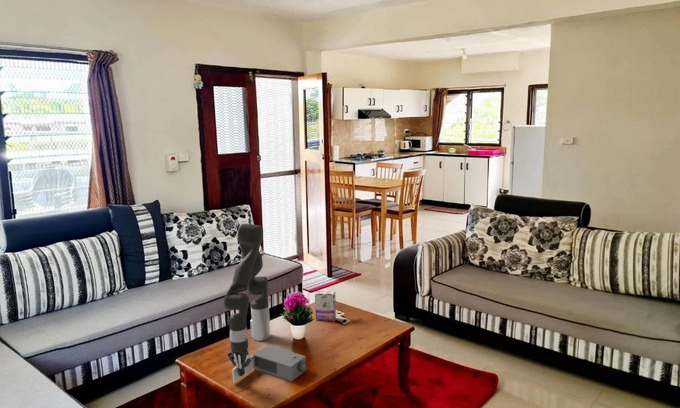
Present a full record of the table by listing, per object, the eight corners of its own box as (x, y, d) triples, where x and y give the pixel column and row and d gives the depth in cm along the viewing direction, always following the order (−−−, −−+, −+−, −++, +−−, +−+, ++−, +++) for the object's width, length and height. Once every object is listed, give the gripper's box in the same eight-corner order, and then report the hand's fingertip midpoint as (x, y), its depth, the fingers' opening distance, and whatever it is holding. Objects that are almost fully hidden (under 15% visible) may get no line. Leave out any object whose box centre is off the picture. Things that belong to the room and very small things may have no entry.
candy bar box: (336, 318, 278) (335, 291, 275) (334, 321, 273) (334, 294, 270) (317, 317, 280) (316, 290, 277) (315, 320, 275) (314, 293, 272)
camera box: (253, 368, 223) (253, 353, 222) (269, 358, 232) (268, 343, 231) (294, 382, 211) (293, 366, 209) (309, 371, 220) (308, 355, 218)
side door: (252, 366, 223) (252, 354, 222) (255, 367, 223) (254, 355, 221) (232, 381, 211) (231, 369, 210) (234, 382, 210) (233, 369, 209)
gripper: (221, 338, 207) (223, 375, 210) (245, 344, 201) (247, 382, 204) (232, 331, 214) (235, 368, 217) (256, 337, 208) (258, 374, 210)
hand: (241, 375), depth 210 cm, fingers closed
